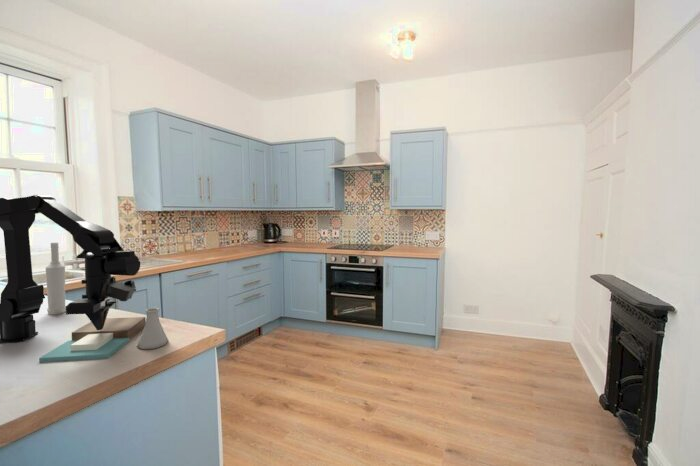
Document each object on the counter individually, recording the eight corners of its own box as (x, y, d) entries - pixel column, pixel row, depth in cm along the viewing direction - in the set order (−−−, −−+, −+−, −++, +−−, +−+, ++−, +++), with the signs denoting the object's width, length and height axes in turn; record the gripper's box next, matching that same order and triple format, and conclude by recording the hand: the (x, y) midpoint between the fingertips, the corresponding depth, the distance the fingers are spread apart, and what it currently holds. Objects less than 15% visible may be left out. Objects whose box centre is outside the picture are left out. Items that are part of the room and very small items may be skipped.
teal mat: (39, 361, 80) (39, 358, 80) (68, 344, 91) (68, 340, 91) (108, 358, 83) (108, 354, 83) (129, 341, 94) (128, 337, 94)
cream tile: (70, 350, 84) (70, 345, 84) (89, 339, 92) (89, 333, 92) (96, 349, 85) (96, 344, 85) (113, 338, 93) (113, 332, 93)
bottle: (55, 310, 120) (52, 241, 119) (70, 310, 121) (67, 242, 119) (43, 314, 115) (40, 243, 114) (59, 314, 116) (56, 243, 114)
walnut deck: (71, 343, 92) (71, 332, 91) (96, 328, 103) (96, 318, 103) (127, 340, 94) (127, 330, 94) (145, 326, 106) (145, 316, 106)
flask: (154, 351, 88) (153, 314, 87) (130, 348, 89) (130, 312, 88) (173, 341, 95) (173, 306, 94) (152, 338, 96) (151, 304, 95)
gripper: (113, 281, 84) (114, 341, 85) (144, 268, 102) (145, 317, 103) (63, 281, 82) (65, 343, 83) (104, 268, 100) (105, 319, 101)
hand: (99, 329), depth 93 cm, fingers closed
